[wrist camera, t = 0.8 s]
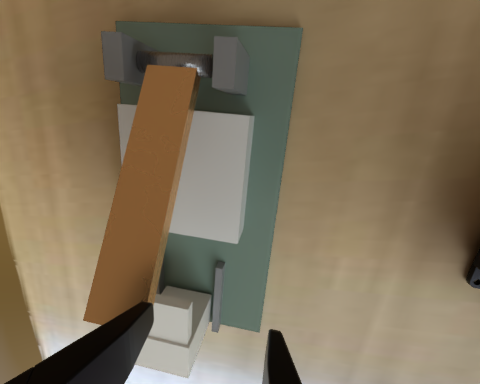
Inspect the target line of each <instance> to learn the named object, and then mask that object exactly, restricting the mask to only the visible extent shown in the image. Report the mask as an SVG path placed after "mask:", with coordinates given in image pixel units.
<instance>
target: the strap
mask: <svg viewBox="0 0 480 384" xmlns="http://www.w3.org/2000/svg"><path fill="white" fill-rule="evenodd" d="M135 59H136V66H137V68H138V70H139V71H140V72H141V73H145V76H144V80H143V84H142V88H141V92H140V96H139V100H138V104H137V108H136V112H135V116H134V120H133V124H132V128H131V132H130V136H129V140H128V144H127V148H126V152H125V156H124V159H123V163H122V167H121V171H120V175H119V179H118V183H117V187H116V191H115V195H114V199H113V203H112V207H111V211H110V215H109V219H108V223H107V227H106V231H105V235H104V239H103V243H102V247H101V251H100V255H99V259H98V263H97V267H96V271H95V275H94V279H93V283H92V287H91V291H90V295H89V299H88V303H87V307H86V311H85V315H84V319H83V321H87V322H91V323H96V324H100V325H103V324H105V323H106V322H108V321H110V320H111V319H113V318H115V317H116V316H118V315H120V314H121V313H123V312H125V311H126V310H128V309H130V308H131V307H133V306H135V305H136V304H138V303H140V302H142V301H145V302H150V303H152V304H153V306H154V302H155V297H156V292H157V287H158V282H159V277H160V273H161V268H162V263H163V258H164V253H165V249H166V244H167V239H168V234H169V229H170V224H171V220H172V215H173V210H174V205H175V200H176V196H177V191H178V186H179V181H180V176H181V171H182V167H183V162H184V157H185V152H186V147H187V143H188V138H189V133H190V128H191V123H192V118H193V114H194V109H195V104H196V99H197V94H198V90H199V85H200V80H201V77H204V78H212V75H213V55H212V54H195V53H177V52H159V51H140V50H139V51H138V52H137V53H136V58H135Z"/></svg>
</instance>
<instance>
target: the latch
mask: <svg viewBox="0 0 480 384" xmlns="http://www.w3.org/2000/svg"><path fill="white" fill-rule="evenodd" d="M211 296H212V295H210V294H205V293H200V292H195V291H191V290H186V289H181V288H176V287H171V286H166V288H165V289H164V290H163V292H162V293H161V295H160V294H156V297H155V302H154V306H153V308H154V323H153V326H152V328H151V331H150V333H149V335H148V337H147V339H146V341H145V343H144V346H143V348H142V350H141V352H140V354H139V356H138V358H137V361H136V363H135V365H139V366H143V367H147V368H151V369H154V370H158V371H162V372H166V373H170V374H174V375H177V376H181V377H185V378H189V375H190V372H191V370H192V367H193V364H194V362H195V359H196V356H197V354H198V351H199V348H200V346H201V343H202V340H203V338H204V335H205V332H206V330H207V327H208V324H209V322H210V313H211Z"/></svg>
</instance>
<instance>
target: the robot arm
mask: <svg viewBox="0 0 480 384" xmlns="http://www.w3.org/2000/svg"><path fill="white" fill-rule="evenodd" d="M475 280H477V281H475ZM466 281H467V283H468V284H470V285H471V286H472V287H474V288H478V289H480V249H479V251H478V253H477V255H476V258H475V260H474V262H473V264H472V267H471V269H470V271H469V273H468V275H467V278H466ZM474 281H475V282H474ZM153 323H154V308H153V304H152V303H150V302H145V301H142V302H140V303H138V304H136V305H135V306H133V307H131V308H130V309H128V310H126V311H125V312H123V313H121V314H120V315H118V316H116V317H115V318H113V319H111V320H110V321H108V322H106V323H105V324H103V325H101V326H100V327H98V328H97V329H95V330H93V331H92V332H90V333H88V334H87V335H85V336H83V337H82V338H80V339H78V340H77V341H75V342H73V343H72V344H70V345H68V346H67V347H65V348H63V349H62V350H60V351H58V352H57V353H55V354H53V355H52V356H50V357H48V358H47V359H45V360H43V361H42V362H40V363H38V364H37V365H35V367H32V368H30V369H28V370H27V371H25V372H23V373H22V374H20V375H18V376H17V377H15V378H13V379H12V380H10V381H8V382H6V383H4V384H124V383H125V381H126V380H127V378H128V376H129V374H130V372H131V371H132V369H133V367H134V365H135V363H136V361H137V358H138V356H139V354H140V352H141V350H142V348H143V346H144V343H145V341H146V339H147V337H148V335H149V333H150V331H151V328H152V326H153ZM262 384H302V383H301V381H300V378H299V375H298V373H297V370H296V368H295V365H294V363H293V360H292V358H291V355H290V353H289V350H288V348H287V345H286V343H285V340H284V338H283V335H282V333H281V332H280V331H277V330H273V329H270V330H269V333H268V340H267V346H266V354H265V363H264V373H263V382H262Z"/></svg>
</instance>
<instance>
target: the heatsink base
mask: <svg viewBox="0 0 480 384" xmlns="http://www.w3.org/2000/svg"><path fill="white" fill-rule="evenodd" d="M302 32H303V28H292V27H265V26H237V25H210V24H183V23H155V22H128V21H116V32H106V31H101V37H102V49H103V61H104V73H105V79H106V80H111V81H116V82H119V83H120V98H121V104H117V107H118V121H119V136H120V150H121V165H122V163H123V159H124V156H125V152H126V148H127V144H128V140H129V136H130V132H131V128H132V124H133V120H134V116H135V112H136V108H137V104H138V100H139V96H140V92H141V88H142V84H143V80H144V76H145V73H141V72H140V71H139V70H138V68H137V66H136V59H135V58H136V53H137V52H138V51H139V50H140V51H159V52H177V53H195V54H212V55H213V75H212V78H204V77H201V80H200V85H199V90H198V94H197V99H196V104H195V109H194V114H193V118H192V123H191V128H190V133H189V138H188V143H187V147H186V152H185V157H184V162H183V167H182V171H181V176H180V181H179V186H178V191H177V196H176V200H175V205H174V210H173V215H172V220H171V224H170V229H169V234H168V239H167V244H166V249H165V253H164V258H163V263H162V268H161V273H160V277H159V282H158V287H157V292H156V294H160V295H161V293H162V292H163V290H164V289H165V288H166V286H171V287H176V288H181V289H186V290H191V291H195V292H200V293H205V294H210V295H212V296H211V313H210V322H212V331H213V332H217V333H218V331H219V327H220V324H223V325H227V326H232V327H236V328H241V329H245V330H250V331H254V332H260V325H261V318H262V311H263V304H264V297H265V290H266V283H267V276H268V269H269V262H270V255H271V248H272V241H273V234H274V227H275V220H276V213H277V206H278V199H279V192H280V185H281V178H282V171H283V164H284V157H285V150H286V143H287V136H288V129H289V122H290V115H291V108H292V101H293V94H294V87H295V80H296V73H297V66H298V59H299V52H300V45H301V38H302Z"/></svg>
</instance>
